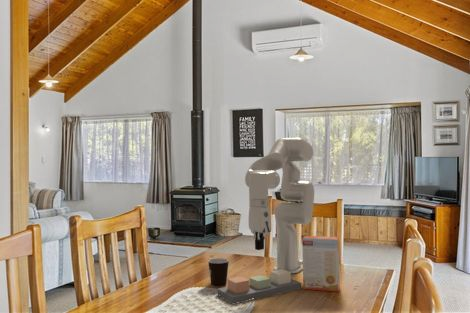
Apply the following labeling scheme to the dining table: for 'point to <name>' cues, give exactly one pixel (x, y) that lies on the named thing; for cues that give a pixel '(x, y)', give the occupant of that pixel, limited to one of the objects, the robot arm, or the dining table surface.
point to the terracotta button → (238, 285)
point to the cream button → (280, 276)
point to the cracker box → (321, 263)
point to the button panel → (258, 291)
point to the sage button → (260, 282)
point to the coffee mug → (218, 271)
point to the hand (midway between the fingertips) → (259, 249)
